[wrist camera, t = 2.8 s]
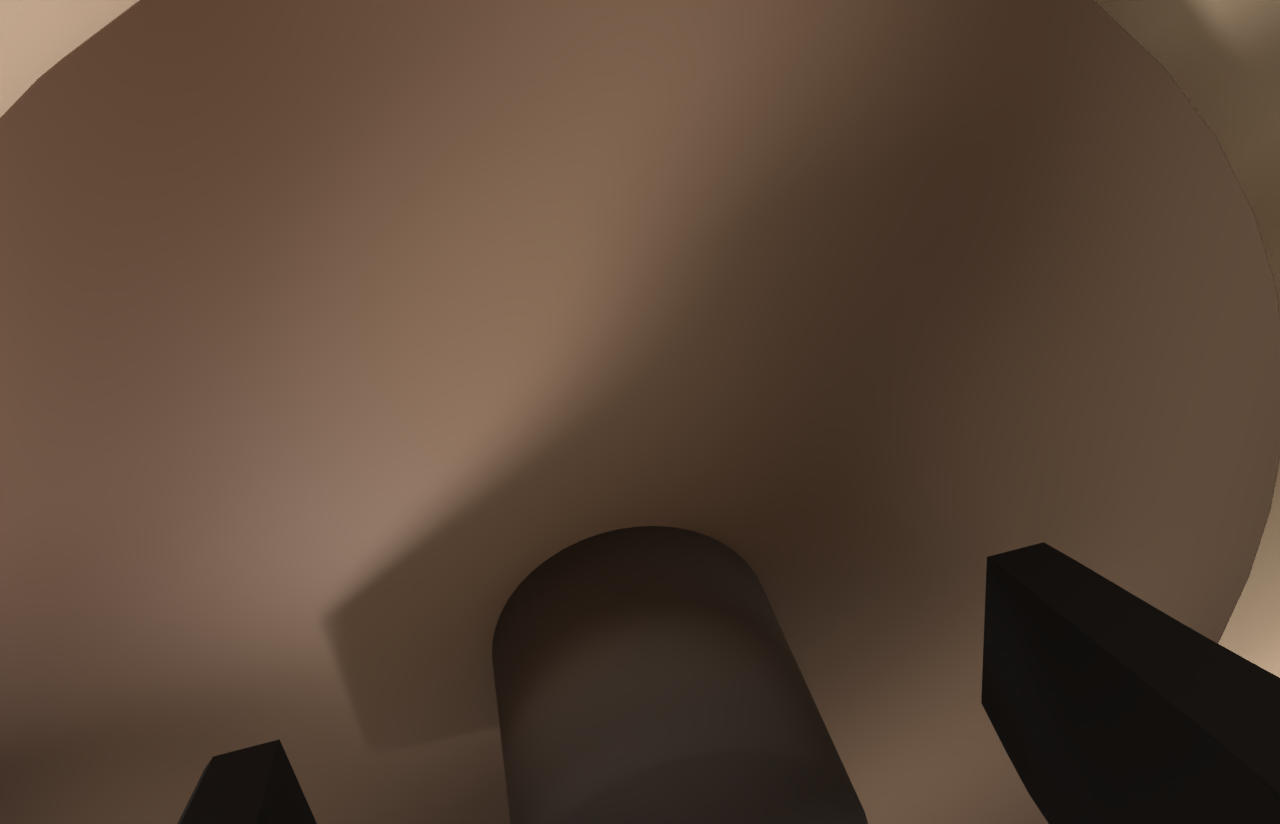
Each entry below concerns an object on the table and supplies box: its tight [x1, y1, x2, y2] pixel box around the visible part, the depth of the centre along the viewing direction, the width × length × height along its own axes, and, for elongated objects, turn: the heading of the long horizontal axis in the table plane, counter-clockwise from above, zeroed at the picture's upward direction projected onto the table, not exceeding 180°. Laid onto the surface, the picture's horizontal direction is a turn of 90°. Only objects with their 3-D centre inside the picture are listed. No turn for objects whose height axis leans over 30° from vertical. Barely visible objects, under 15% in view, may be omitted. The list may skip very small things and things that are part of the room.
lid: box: [0, 0, 1280, 824], centre depth 11 cm, size 15×15×4 cm
